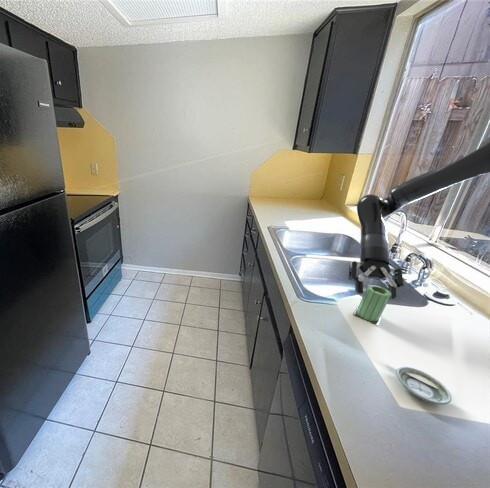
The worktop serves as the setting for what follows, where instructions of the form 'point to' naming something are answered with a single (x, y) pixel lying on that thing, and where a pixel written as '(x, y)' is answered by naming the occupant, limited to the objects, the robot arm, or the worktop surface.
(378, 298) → the hollow cylinder
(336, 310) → the worktop surface
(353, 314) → the stand
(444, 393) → the saucer
